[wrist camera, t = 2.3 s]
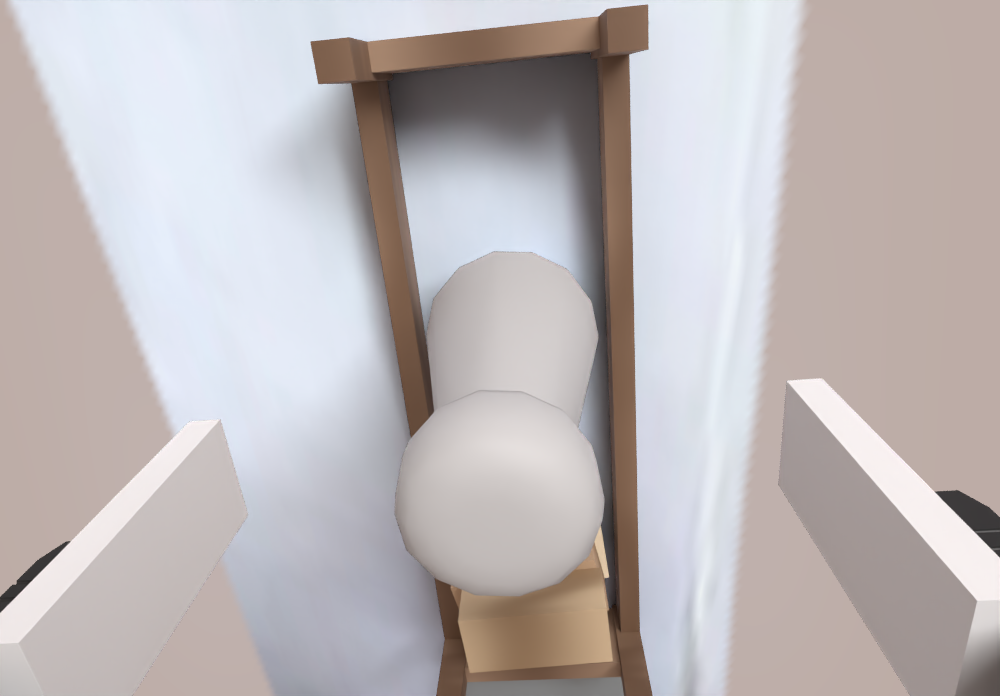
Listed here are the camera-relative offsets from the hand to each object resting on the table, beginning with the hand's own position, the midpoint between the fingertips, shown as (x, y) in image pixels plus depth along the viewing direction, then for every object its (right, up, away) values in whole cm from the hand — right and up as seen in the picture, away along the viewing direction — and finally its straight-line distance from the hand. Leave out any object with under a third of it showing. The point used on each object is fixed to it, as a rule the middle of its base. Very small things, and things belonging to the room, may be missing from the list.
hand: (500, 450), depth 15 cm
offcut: (+1, -7, +10) cm, 12 cm away
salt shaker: (0, +4, +9) cm, 10 cm away
